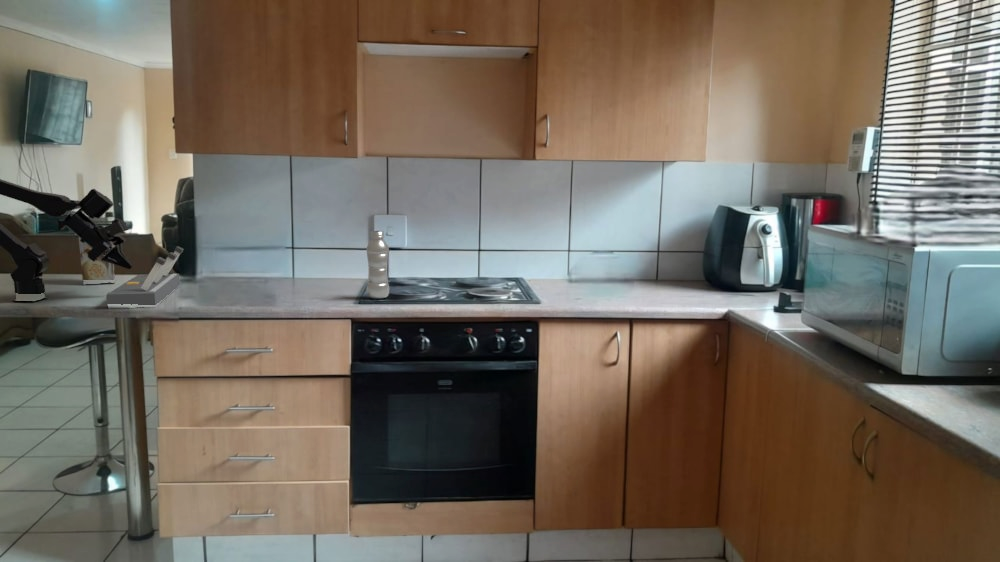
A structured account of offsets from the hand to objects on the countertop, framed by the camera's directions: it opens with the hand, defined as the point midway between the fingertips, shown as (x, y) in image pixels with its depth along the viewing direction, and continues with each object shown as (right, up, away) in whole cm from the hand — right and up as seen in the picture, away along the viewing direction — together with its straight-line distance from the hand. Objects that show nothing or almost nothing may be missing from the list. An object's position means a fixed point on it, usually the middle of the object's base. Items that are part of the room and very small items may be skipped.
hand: (131, 267), depth 210 cm
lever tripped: (+6, -4, +2) cm, 7 cm away
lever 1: (+9, -6, -10) cm, 15 cm away
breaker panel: (+3, -8, +2) cm, 9 cm away
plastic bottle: (+72, -9, +4) cm, 72 cm away
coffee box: (-23, -5, +24) cm, 33 cm away
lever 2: (+3, -2, +15) cm, 15 cm away
